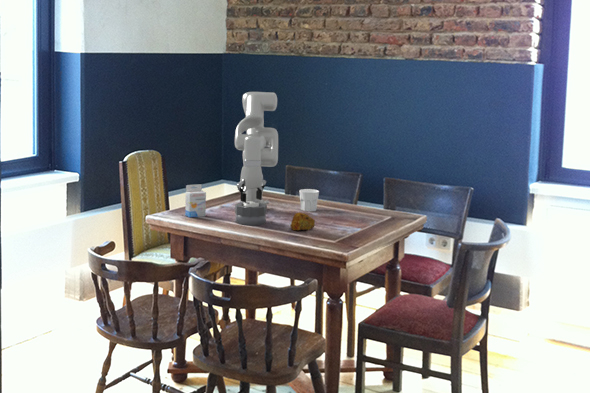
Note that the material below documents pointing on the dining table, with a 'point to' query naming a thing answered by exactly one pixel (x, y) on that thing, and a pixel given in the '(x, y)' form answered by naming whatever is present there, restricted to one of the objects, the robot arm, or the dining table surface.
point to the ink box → (195, 201)
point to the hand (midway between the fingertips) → (251, 200)
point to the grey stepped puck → (250, 214)
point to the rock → (302, 222)
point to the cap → (251, 203)
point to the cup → (308, 199)
